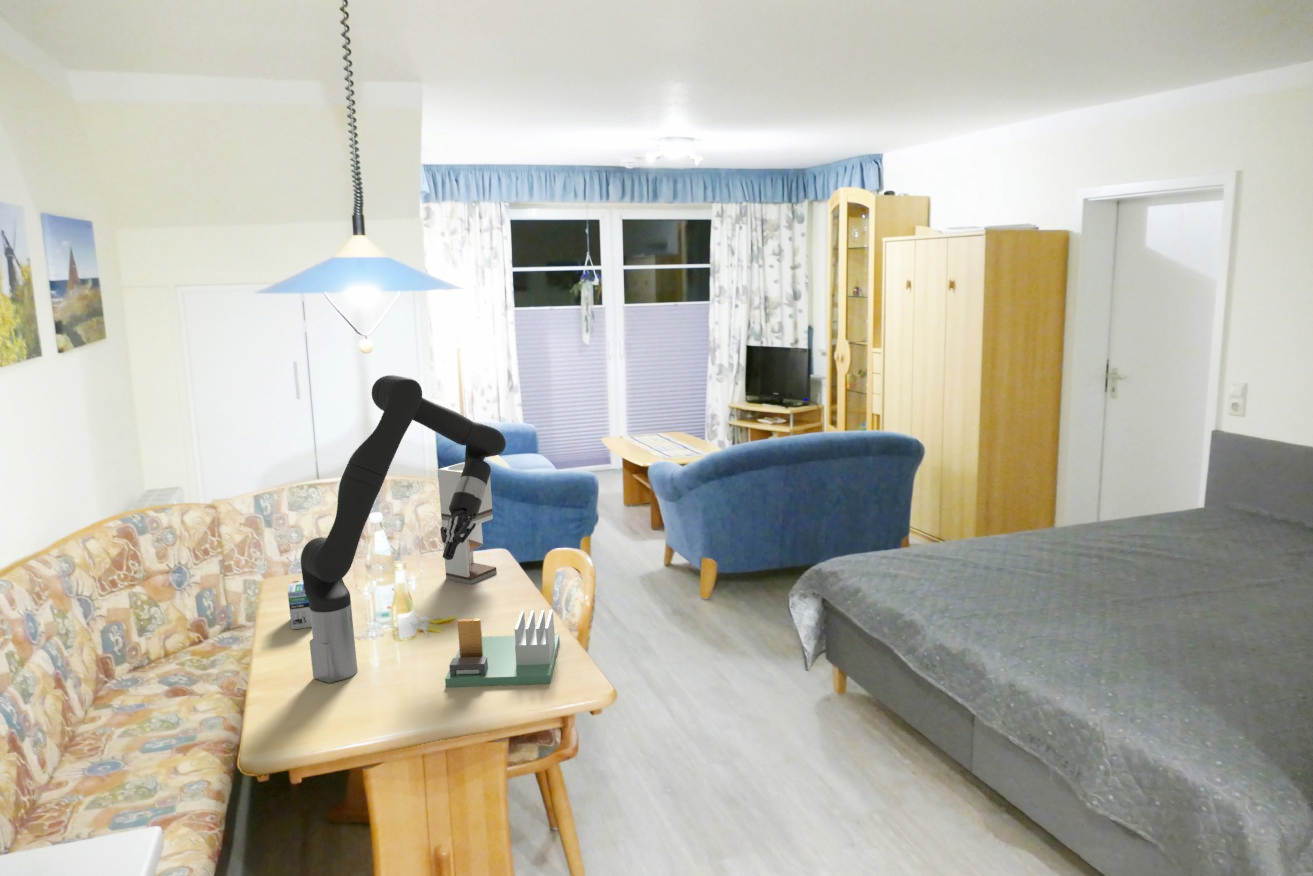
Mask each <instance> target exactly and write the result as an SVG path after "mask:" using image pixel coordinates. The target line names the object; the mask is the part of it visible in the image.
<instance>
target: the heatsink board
mask: <svg viewBox="0 0 1313 876" xmlns="http://www.w3.org/2000/svg"><path fill="white" fill-rule="evenodd" d="M529 613H530V614H529V617H528V619H527V622H526V620H525V619H526V618H525V610H521V611H520V614H519V616H518V619H517V620H516V621H517V622H516V625H515V628H514V635H499V636H498V635H493V636H482V645H483V657H463V658H460V648H459V650H458V651H457V654H456V656H455V657H452V659H451V661H450V663H449V670H448V673H447V675H446V676H445V678H444V682H445V688H456V687H458V688H459V687H460V688H461V687H483V686H484V687H485V686H487V687H488V686H513V685H514V686H516V685H517V686H518V685H543V684H544V685H545V684H547V685H548V684H551V682H552V676H553V672H554V667H555V663H556V659H557V655H558V649H559V645H560V641H561V640H560V634H559V633H555V623H554V622H555V621H554V609H549V612H548V616H547V620H546V614H545V609H541V610H540V615H539V618H538V621H537V623H536V618H535V617H536V615H535V609H531V611H530V612H529ZM525 622H526V623H525ZM465 669H480V673H479V674H457V671H456V670H465Z"/></svg>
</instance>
